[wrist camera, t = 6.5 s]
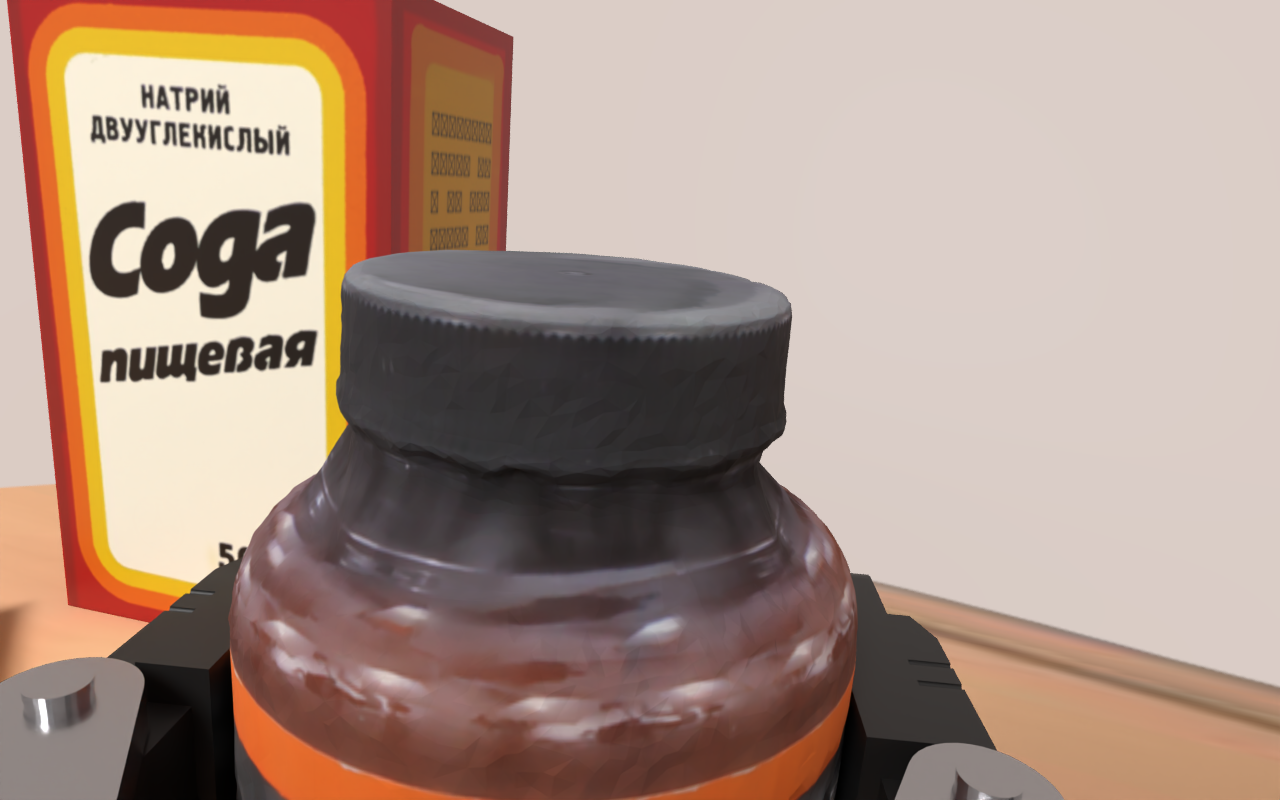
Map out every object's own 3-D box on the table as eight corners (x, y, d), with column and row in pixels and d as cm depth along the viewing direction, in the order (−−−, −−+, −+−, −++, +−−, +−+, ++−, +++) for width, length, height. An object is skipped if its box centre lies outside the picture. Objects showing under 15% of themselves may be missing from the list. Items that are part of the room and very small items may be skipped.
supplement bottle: (296, 1004, 13) (272, 225, 10) (681, 942, 14) (755, 253, 11) (205, 1666, 7) (88, 309, 4) (853, 1446, 9) (1083, 342, 6)
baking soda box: (68, 605, 23) (1, -50, 19) (233, 518, 29) (209, 9, 25) (389, 674, 21) (391, -40, 17) (494, 565, 27) (513, 22, 23)
